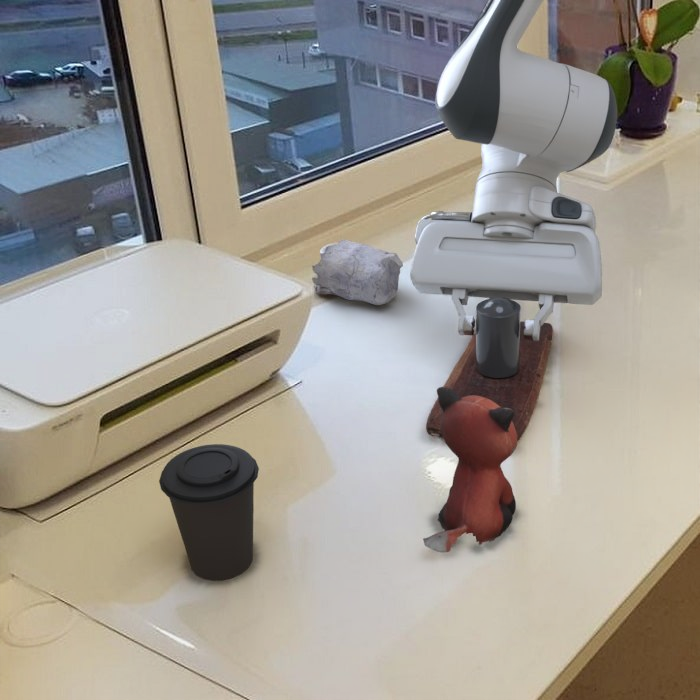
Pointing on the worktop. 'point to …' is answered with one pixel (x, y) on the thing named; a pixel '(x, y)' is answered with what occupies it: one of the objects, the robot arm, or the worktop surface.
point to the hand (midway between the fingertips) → (498, 336)
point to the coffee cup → (213, 507)
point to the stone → (357, 272)
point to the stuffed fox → (475, 469)
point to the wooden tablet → (501, 381)
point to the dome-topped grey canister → (498, 337)
